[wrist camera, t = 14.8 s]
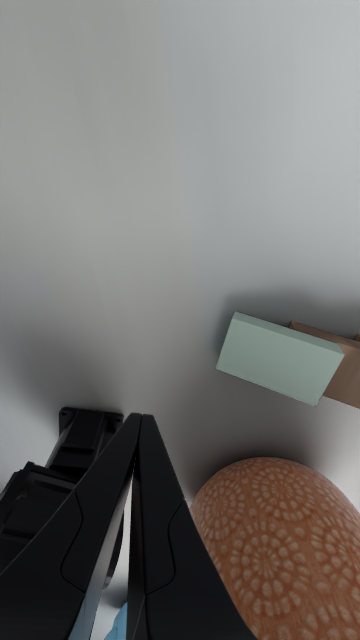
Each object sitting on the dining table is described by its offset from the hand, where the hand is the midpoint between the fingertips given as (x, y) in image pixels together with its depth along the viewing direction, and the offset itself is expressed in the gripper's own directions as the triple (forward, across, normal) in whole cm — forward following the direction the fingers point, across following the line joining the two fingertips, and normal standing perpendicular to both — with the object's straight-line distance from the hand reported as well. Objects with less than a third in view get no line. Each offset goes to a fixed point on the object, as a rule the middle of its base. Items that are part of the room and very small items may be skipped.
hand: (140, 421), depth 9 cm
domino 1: (+12, -6, +2) cm, 14 cm away
